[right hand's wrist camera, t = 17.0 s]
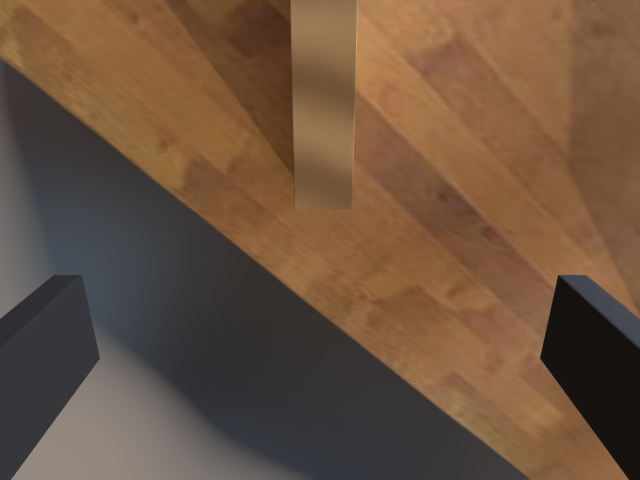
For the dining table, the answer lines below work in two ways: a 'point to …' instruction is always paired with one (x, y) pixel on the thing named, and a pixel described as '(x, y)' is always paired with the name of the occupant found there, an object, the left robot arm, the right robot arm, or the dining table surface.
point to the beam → (323, 101)
